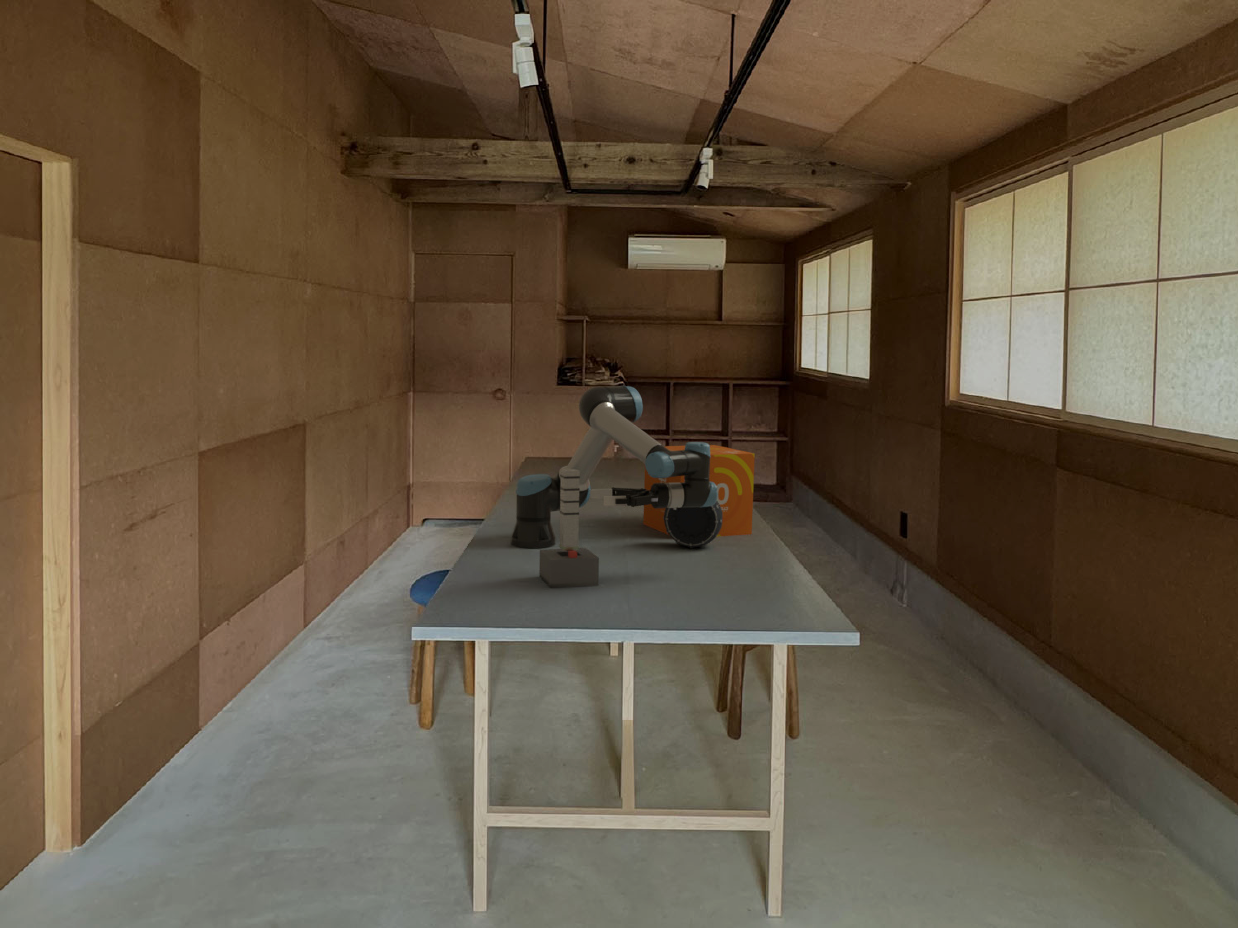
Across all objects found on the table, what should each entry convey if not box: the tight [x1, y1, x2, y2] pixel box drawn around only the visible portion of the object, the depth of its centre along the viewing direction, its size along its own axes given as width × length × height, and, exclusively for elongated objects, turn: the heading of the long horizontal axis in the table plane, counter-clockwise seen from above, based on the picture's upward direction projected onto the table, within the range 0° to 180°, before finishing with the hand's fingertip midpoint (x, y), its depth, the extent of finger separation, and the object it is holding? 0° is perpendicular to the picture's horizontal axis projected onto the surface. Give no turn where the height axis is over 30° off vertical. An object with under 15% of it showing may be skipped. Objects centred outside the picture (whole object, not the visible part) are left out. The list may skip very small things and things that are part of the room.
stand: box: [538, 547, 600, 589], centre depth 281 cm, size 14×14×10 cm
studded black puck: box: [663, 501, 723, 549], centre depth 332 cm, size 11×20×20 cm, turn 78°
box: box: [642, 444, 756, 538], centre depth 363 cm, size 30×30×30 cm
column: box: [558, 468, 580, 551], centre depth 279 cm, size 5×5×23 cm
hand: (596, 497), depth 281 cm, fingers open, 13 cm apart
